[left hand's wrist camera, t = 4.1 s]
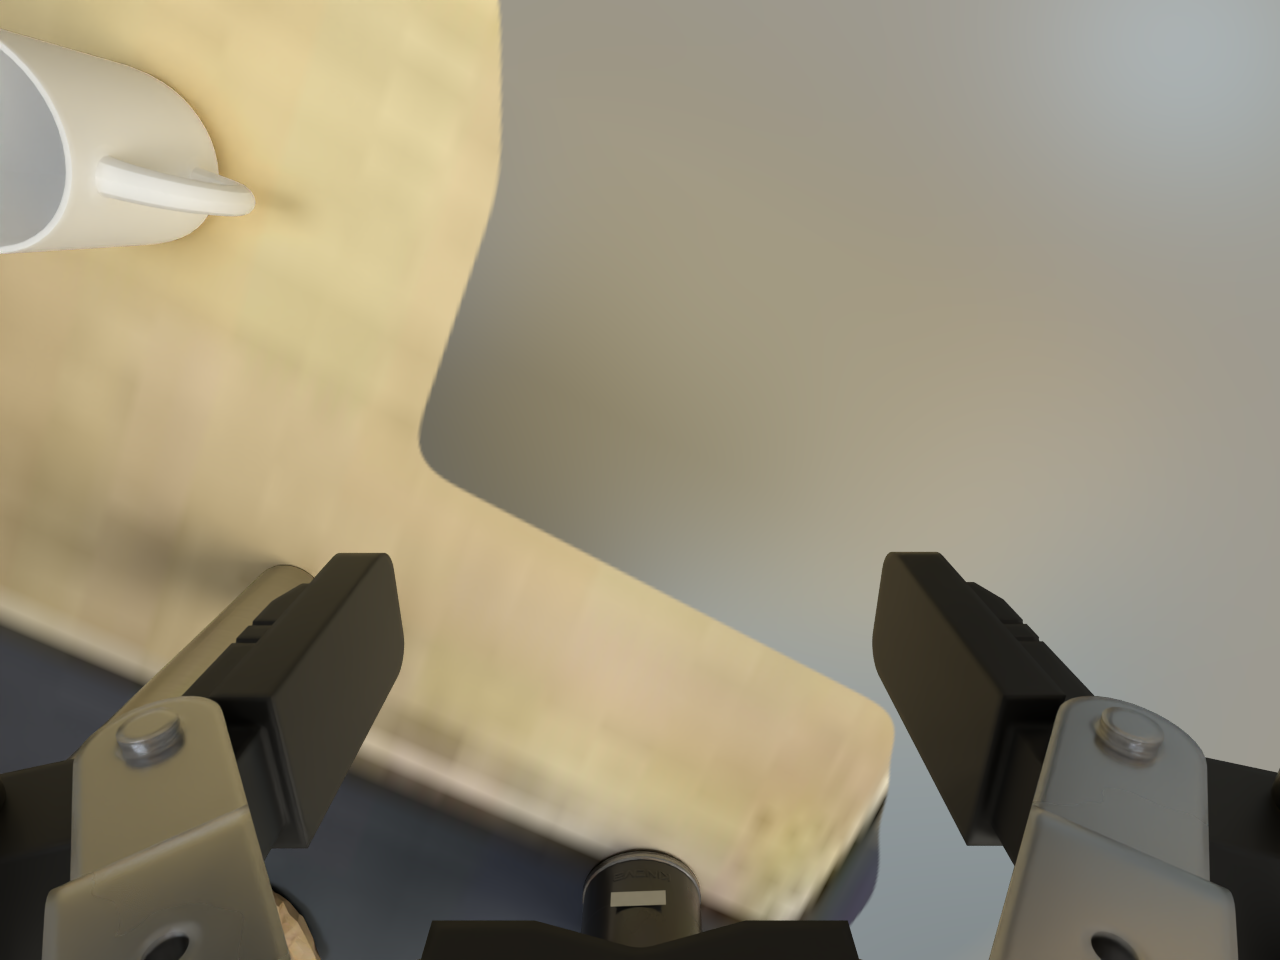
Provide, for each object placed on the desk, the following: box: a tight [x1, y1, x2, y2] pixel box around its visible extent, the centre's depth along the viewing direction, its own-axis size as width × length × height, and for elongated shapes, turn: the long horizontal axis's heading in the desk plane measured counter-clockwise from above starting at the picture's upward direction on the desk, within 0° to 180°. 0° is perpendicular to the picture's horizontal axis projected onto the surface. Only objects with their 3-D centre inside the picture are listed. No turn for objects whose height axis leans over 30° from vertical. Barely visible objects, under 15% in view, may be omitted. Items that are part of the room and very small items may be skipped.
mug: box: [0, 28, 256, 254], centre depth 30 cm, size 12×8×10 cm
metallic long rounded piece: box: [67, 565, 314, 760], centre depth 36 cm, size 4×4×19 cm
